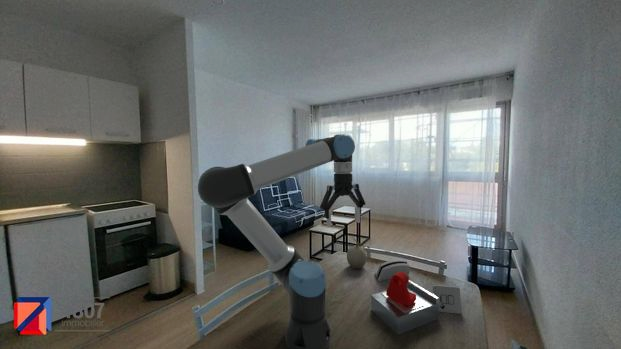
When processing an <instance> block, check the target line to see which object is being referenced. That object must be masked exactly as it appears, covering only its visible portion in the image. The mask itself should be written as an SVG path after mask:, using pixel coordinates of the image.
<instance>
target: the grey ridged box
mask: <svg viewBox="0 0 621 349" xmlns="http://www.w3.org/2000/svg"><path fill="white" fill-rule="evenodd" d="M407 288H408V291H409V292H411V293H414V294H415V295H416V301H414V302H413V303H412V304H411V305H410V306H407V305H405V304H404V305H401V304H399V303H397V302H395V301H393V300H392V298H391V297H389V296H386V291H387V290H383V291H381V292H378V293H377V292H376V293H373V294H371V295H370V297H371V298H370V300H371V302H370V308H371V309H370V310H371V312H373V313H374V315H376V316H377V317H378V318H379V319H380V320H381V321H382V322H384V324H386V326H387V327H388V328H390V330H392V331H393V332H394V333H395V334H396V335H398V336H399V335H402V334H405V333H407V332H409V331H412V330H415V329H417V328H419V327H422V326H424V325H427V324H429V323H432V322H435V321H436V320H439V315H440V314H439V313H440V312H439V298H438V297H437V296H435V295H433V292H430V291H429V290H427V289H425V288H423V287H422V286H420V285H419V284H417V283H415V282H413V281H412V280H410V279H409V282H408V284H407Z"/></svg>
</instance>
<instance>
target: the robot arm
mask: <svg viewBox="0 0 621 349" xmlns="http://www.w3.org/2000/svg"><path fill="white" fill-rule="evenodd" d="M355 149H356V144H355V141H354V139H353V137H352V135H351V134H346V133H344V134H341V133H340V134H335V135H333V136H331V137H324V138H311V139H310V138H309V139H308V140H306V143H305V146H302V147H300V148H296V149H293V150H290V151H288V152H284V153H281V154H278V155H275V156H272V157H269V158H266V159H264V160H263V159H262V160H261V161H257V162H254V163H251V164H249V165H247V164H246V163H241V164H237V165H234V166H228V167H225V166H213V167H210V168H208V169H207V170H205V171H204V172H202V174H201V175H200V177H199V179H198V184H197V192H198V196H199V198H200V199H201V200H202V202H203V203H205V204H206V205H207V206H210V207H212V209H213V210H214V211H216V212H217V214H218V215H221V216H227V217H228V219H230V221H231V222H232V223H233V224H234V226H236V227H237V229H238V230H239V231H240V232H241V233H242V235H244V236H245V238H247V240H248V241H249V242H250V243H251V244H252V245H253V246H254V248H255V249H256V250H257V251H258V252H259V253H260V254H261V255H262V257H264V259H265V260H266V261H267V262H268V270H269V271H270V272H271V273H272V274H273V276H275V278H277V280H278V281H279V282H280V284H281V285H282V286H283V288H284V290H285V292H286V293H287V295H288V297H289V307H290V308H289V312H290V314H289V319H288V322H287V325H286V329H285V332H284V333H285V336H284V337H285V345H286V346H287V348H288V349H329V347H330V345H331V343H332V329H331V325H330V322H329V319H328V316H327V312H326V311H327V310H326V309H327V308H326V307H327V304H326V302H327V300H326V298H327V297H326V296H327V295H326V286H327V282H326V280H327V279H326V275H325V274H326V273H325V270H324V268H323V267H322V266H321V265H320V264H318V263H316V262H312V261H310V260H305V259H304V257H302V255H301V254H300V253H299V252H298V251H297V249H296V248H295V247H294V246H293V245H289V244H286V243H285V241H284V240H283V239H282V238H281V237H280V235H278V233H277V232H276V231H275V230H274V228H273V227H272V226H271V225H270V224H269V222H268V221H267V220H266V218H265V217H264V216H263V215H262V214H261V212H259V211H258V209H257V208H256V207H255V206H254V205H253V204H254V203H252V202H251V201H250V200H249V198H250V197H253V196H255V195H256V193H257V192H258V190H261V189H263V188H266V187H269V186H272V185H274V184H277V183H279V182H282V181H284V180H287V179H289V178H291V177H294V176H297V175H300V174H302V173H304V172H308V171H310V170H312V169H314V168H317V167H318V168H319V167H320V166H322V165H325V164H327V163H331V162H333V172H334V174H333V183H334V184H333V185H329V184H327V186H326V190H325V194H324V196H323V198H322V201H321V203H320V206H319V208H320V209H321V210H323V211H324V218H325V219H326V220H325V221H326V222H325V223H326V227H328V228H332V210H330V209H331V208H332V207H333V205H334V203H335V202H336V201H337V199H338V198H339V197H344V196H345V197H346V196H348V197H349V198H350V200H351V201H352V202H353V203H354V204H355V206H354V222H355V223H358V224H360V223H361V215H362V208H363V207H364V206H365V205H366V202H365V198H364V196H363V195H362V192H361V189H360V184H358V183H353V173H352V172H353V154H354V152H355ZM333 191H334V192H333ZM353 191H354V192H353ZM332 193H333V194H332ZM354 193H355V194H354ZM331 195H332V196H331Z"/></svg>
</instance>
